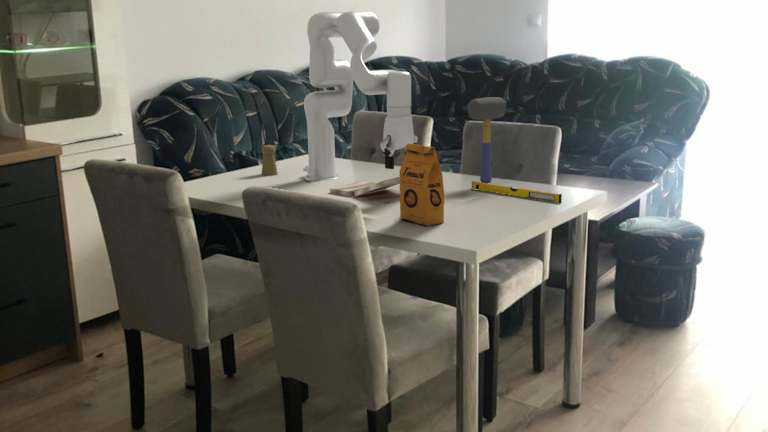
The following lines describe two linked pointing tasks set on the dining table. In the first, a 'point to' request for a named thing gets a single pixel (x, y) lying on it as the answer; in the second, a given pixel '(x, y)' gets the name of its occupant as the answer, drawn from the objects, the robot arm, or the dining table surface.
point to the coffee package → (421, 186)
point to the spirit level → (517, 191)
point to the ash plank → (378, 186)
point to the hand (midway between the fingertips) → (399, 166)
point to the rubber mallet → (486, 128)
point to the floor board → (377, 196)
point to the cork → (269, 161)
